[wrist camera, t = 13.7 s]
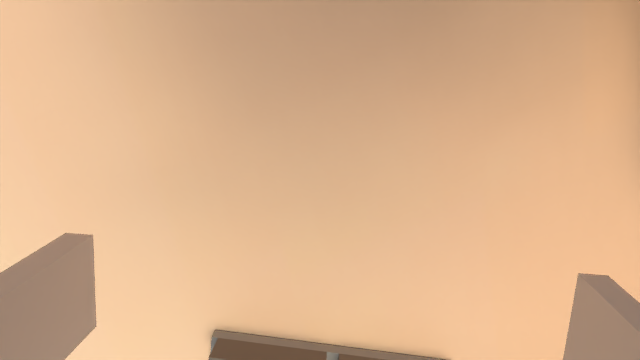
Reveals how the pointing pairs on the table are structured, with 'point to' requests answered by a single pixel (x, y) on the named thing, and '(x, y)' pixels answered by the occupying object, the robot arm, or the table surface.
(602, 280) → the robot arm
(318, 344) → the docking board
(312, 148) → the table surface
